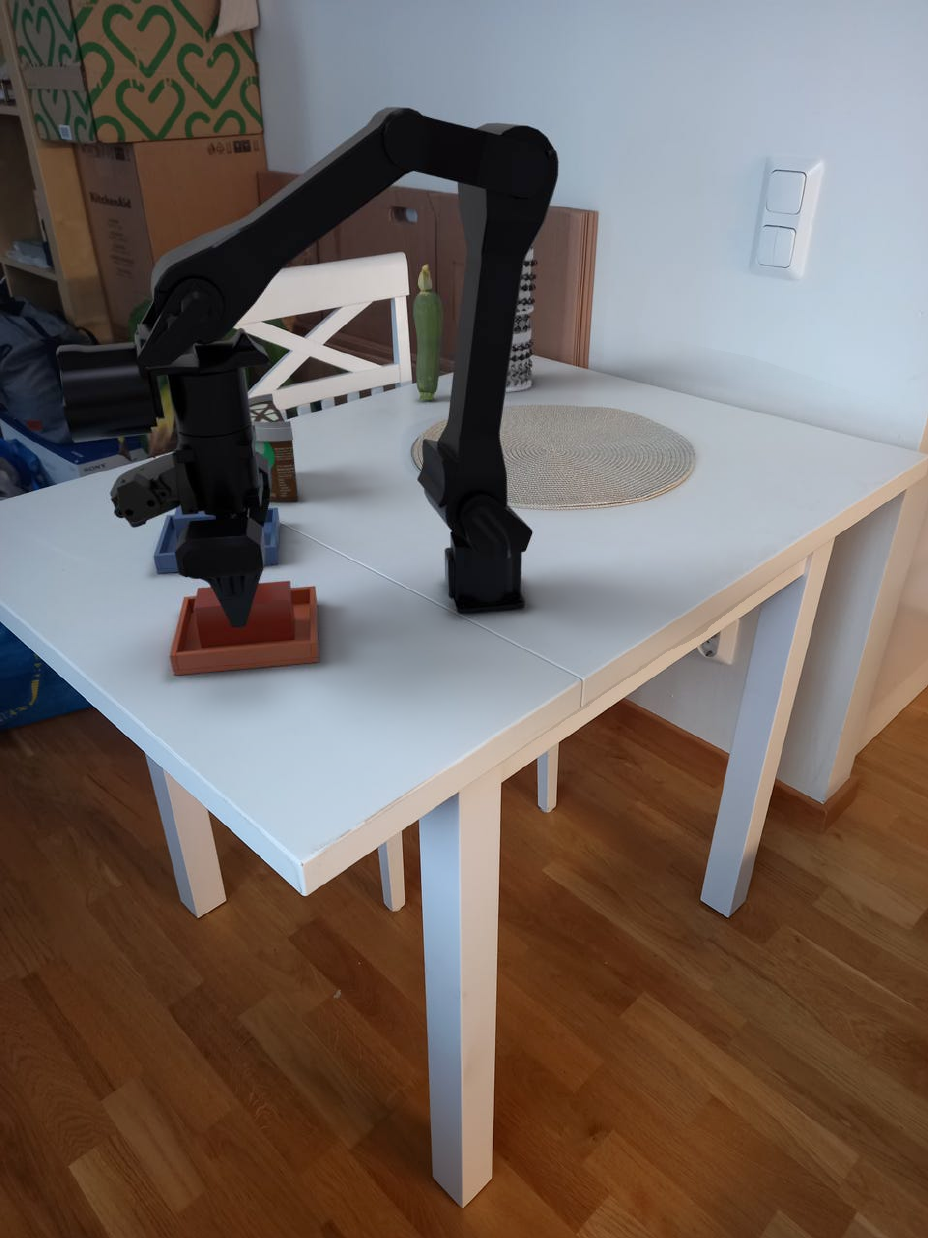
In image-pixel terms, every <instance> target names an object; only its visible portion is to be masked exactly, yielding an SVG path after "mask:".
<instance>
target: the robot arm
mask: <svg viewBox="0 0 928 1238" xmlns="http://www.w3.org/2000/svg"><path fill="white" fill-rule="evenodd" d="M412 172H416V173H419V174H424V175H428V176H430V177H431V176H432V177H436V178H440V179H444V180H447V181H452V182H455V183H457V199H458V200H457V201H458V210H459V214H460V220H461V226H462V231H463V235H464V240H465V246H466V247H465V248H466V258H465V266H464V274H463V285H462V293H461V300H460V301H461V303H460V311H459V320H458V329H457V337H456V346H455V348H456V349H455V355H454V364H453V374H452V381H451V391H450V400H449V409H448V416H447V417H448V418H447V421H446V425H445V426H444V429H443V431H442V433H441V434H440V436H439V437H438V439H437V440H433V439H427V438H425V439H423V440H422V444H421V445H422V446H421V448H422V449H421V450H422V451H421V452H422V466H421V470H420V473H419V474H418V477H417V479H416V481H417V482H418V483H419V484H420V485H421V487H422V488H423V491H424V495H425V498H426V499H427V501H428V503H429V505H431V507H432V508H433V510H434V511H435V512H436V514H438V516H439V517H440V518H441V520H442V521H443V522H444V524H445V525H446V527H448V529H449V530H450V532H449V536H450V537H449V541H450V542H449V543H450V547H446V548H445V549H444V580H445V581H444V582H445V589H446V592H447V596H448V597H449V599H450V600H453V604H454V607H455V611H456V613H459V614H468V613H480V612H490V611H502V610H503V611H504V610H514V609H522V608H525V606H526V600H525V598H524V595H523V593H522V564H523V563H522V562H523V561H522V560H523V557H522V555H523V553H525V552H526V551H527V549H528V546H529V544H530V541H531V538H532V536H533V529H532V528H530V526H529V525H528V524H527V523H526V522H525V521H524V520H523V519H522V517H520V515H518V514H517V513H516V512H515V510H514V509H513V508H511V506H510V505H509V502H508V501H509V498H508V497H509V496H508V472H507V467H506V463H505V457H504V452H503V447H502V442H501V426H502V418H503V413H504V405H505V398H506V393H507V392H506V385H507V378H508V370H509V363H510V356H511V349H512V342H513V335H514V328H515V321H516V314H517V307H518V300H519V293H520V286H521V279H522V271H523V265H524V261H525V258H526V255H527V253H528V252H529V250H530V248H531V246H532V247H533V244H534V242H535V240H536V239H537V237H538V235H539V234H540V231H541V229H542V228H543V226H544V224H545V222H546V218H547V215H548V212H549V209H550V206H551V202H552V200H553V199H552V198H553V196H554V193H555V189H556V185H557V183H558V178H559V156H558V152H557V150H556V149H555V147H554V146H553V145H552V143H551V141H550V140H549V138H548V136H546V135H545V133H543V132H542V131H540V130H539V129H538V128H535V127H532V126H530V125H524V124H515V123H504V122H503V123H502V122H489V123H488V122H487V123H485V124H482V125H480V126H478V127H476V128H475V127H471V126H470V127H469V126H466V125H462V124H459V123H454V122H449V121H446V120H442V119H438V118H434V117H430V116H427V115H423V114H421V112H419V110H416V109H413V108H411V107H401V106H389V107H384V108H383V109H380V110H379V111H377V112H376V113H375V114H374V115H373V116H372V117H371V119H370V120H369V122H368V123H366V124H365V126H363V127H362V128H361V129H359V130H358V131H357V132H355V134H352V136H350V137H349V138H348V139H346V140H345V141H343V142H342V143H341V144H339V146H337V147H336V148H334V149H333V150H331V151H330V152H329V153H328V154H327V155H325V156H324V157H323V158H321V159H320V160H319V161H318V162H315V164H313V165H312V166H311V167H310V168H308V169H306V170H305V171H304V172H303V173H302V174H300V175H299V176H298V177H296V178H295V179H294V180H292V181H291V182H290V183H288V184H287V185H286V186H284V187H283V188H281V189H280V190H279V191H278V192H276V193H275V194H274V195H273V196H271V197H270V198H269V199H267V200H266V201H265V202H263V203H262V204H261V205H259V206H258V207H257V208H255V209H254V210H253V211H251V212H250V213H249V214H247V215H246V216H243V217H242V218H239V219H238V220H236V221H234V222H232V223H228V224H227V225H223V226H222V227H219V228H216V229H214V230H211V231H208V232H205V233H204V234H201V235H199V236H198V237H196V238H194V239H192V240H189V241H188V242H185V243H183V244H181V245H179V246H177V247H176V248H175V247H174V248H173V249H171V250H169V251H167V252H166V253H164V254H163V255H162V256H161V257H160V258H159V259H158V261H157V262H156V263H155V264H154V267H153V268H152V271H151V276H150V293H151V297H152V301H151V303H150V305H149V307H148V309H147V311H146V313H145V315H144V316H143V319H142V320H141V322H140V323H139V324H137V330H136V331H135V333H134V341H128V342H119V343H118V342H117V343H107V344H96V345H95V344H94V345H85V344H84V345H83V344H64V345H63V344H61V345H59V346H58V347H57V349H56V355H55V356H56V361H57V364H58V368H59V376H60V384H61V389H62V395H63V398H62V399H63V400H62V410H63V413H64V417H65V421H66V425H67V428H68V430H69V434H70V437H71V439H72V442H73V443H83V442H92V441H101V440H109V439H117V438H125V437H136V436H143V435H151V434H152V435H153V428H158V427H159V425H158V421H157V420H163V419H165V418H166V417H165V410H164V406H163V399H162V395H161V389H160V385H159V379H158V377H159V376H166V379H167V384H168V391H169V395H170V401H171V406H172V411H173V416H174V417H173V418H174V423H175V427H176V434H177V445H176V448H173V451H172V452H171V453H169V454H163V455H161V456H159V457H157V458H154V459H152V460H150V461H147V462H145V463H143V464H141V465H138V466H135V467H132V468H131V469H129V470H127V471H124V472H123V473H121V474H119V476H117V477H116V480H115V482H114V484H113V486H112V487H111V490H110V492H109V496H110V497H111V498H110V501H111V502H112V503H113V506H114V510H113V511H114V512H113V515H115V517H116V518H118V519H124V520H125V521H126V522H128V525H130V527H131V528H134V529H136V528H139V527H141V526H144V525H146V524H147V521H150V520H152V519H154V518H157V517H159V516H161V515H164V514H166V513H169V512H171V511H173V510H176V508H177V507H179V506H180V505H181V511H182V515H190V514H198V513H199V511H204V514H205V515H207V516H209V515H211V516H215V517H216V519H212V520H199V521H190V522H189V523H188V524H187V525H186V527H185V528H184V529H183V530H182V531H181V532H180V535H179V539H178V542H177V546H176V549H175V557H176V562H177V567H178V572H177V573H178V575H179V576H181V577H184V578H189V579H192V580H202V581H204V582H206V583H207V584H208V585H209V587H211V588H212V590H213V591H214V593H215V595H216V597H217V599H218V601H219V603H220V604H221V606H222V608H223V610H224V612H225V614H226V616H227V618H228V620H229V622H230V624H231V625H232V627H234V628H238V627H245V626H246V624H247V621H248V617H249V614H250V610H251V607H252V603H253V600H254V597H255V594H256V590H257V587H258V584H259V583H260V580H261V577H262V575H263V574H262V573H263V571H264V569H265V565H264V563H265V542H264V534H263V527H264V523H265V519H266V515H267V511H268V508H270V504H271V502H270V495H271V481H272V478H271V471H270V463H269V460H268V459H267V458H265V457H264V456H263V455H261V454H260V453H259V452H256V448H255V446H256V439H257V436H256V428H255V425H252V420H251V413H250V406H249V399H248V398H249V393H248V386H247V377H246V370H245V368H252V367H253V368H254V367H262V366H263V367H264V366H268V365H269V364H270V361H271V359H270V357H269V355H268V353H267V351H266V349H265V347H264V346H262V345H261V344H260V343H257V342H256V341H255V340H253V339H252V338H251V337H250V336H249V335H248V333H247V332H246V330H245V328H243V327H239V328H237V330H236V331H235V333H234V335H232V336H231V338H229V339H228V340H222V339H223V338H224V337H226V335H228V334H229V333H230V332H231V331H232V329H234V327H235V326H236V325H237V324H238V323H239V322H240V321H241V320H242V319H243V318H244V316H245V315H246V314H247V313H248V312H249V311H250V310H251V309H252V308H253V306H254V305H255V304H256V303H257V302H258V300H259V299H260V298H261V296H262V294H263V293H264V292H265V290H266V289H267V287H268V286H269V285H270V283H271V282H272V281H273V279H274V278H275V277H276V276H277V275H278V274H279V272H281V270H282V269H283V268H284V267H285V266H287V265H288V264H289V263H290V262H292V261H293V260H294V259H296V258H297V257H298V256H300V255H301V254H303V253H304V252H306V250H308V249H309V248H310V247H312V246H313V245H314V244H315V243H317V242H318V241H320V240H321V239H322V238H324V237H325V236H326V235H327V234H329V233H331V232H332V231H333V230H334V229H336V228H337V227H339V226H340V225H341V224H342V223H343V222H345V221H347V220H348V219H349V218H350V217H351V216H353V215H354V214H356V212H358V211H359V210H360V209H362V208H363V207H364V206H366V205H367V204H368V203H370V202H371V201H373V200H374V199H375V198H376V197H377V196H379V195H380V194H382V193H383V192H385V191H386V190H387V189H388V188H390V187H391V186H392V185H394V184H395V183H397V181H399V180H401V178H403V177H405V176H406V175H408V174H410V173H412ZM219 340H220V341H219ZM191 348H193V349H192V350H193V352H191V353H187V354H185V353H186V352H187V351H188V350H189V349H191Z"/></svg>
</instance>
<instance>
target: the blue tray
mask: <svg viewBox="0 0 928 1238" xmlns="http://www.w3.org/2000/svg"><path fill="white" fill-rule="evenodd" d="M279 514H280V513H279V507H268V511H267V515H266V519H265V523H264V527H263V534H264V542H265V563H264V566H271V565H278V561H279V560H278V558H279V542H280V528H281V527H280V526H281V521H280V515H279ZM173 517H174V514H167V515H166V517H165V519H164V523H163V525H162V528H161V532H160V535H159V539H158V541H157V544H156V547H155V550H154V553H153V560H154V566H155V570H156V574H168V573H179V572H178V567H177V562H176V557H175V549H176V546H177V538H176V533H175V528H174V522H173Z"/></svg>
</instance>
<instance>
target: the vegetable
mask: <svg viewBox="0 0 928 1238" xmlns="http://www.w3.org/2000/svg"><path fill="white" fill-rule="evenodd" d="M429 267H430V266H429V264H425V265H423V266H422V267H421V271H420V273H419V276H418V280H417V281H418V282H417V285H418V288H419V290H420V292H419V293H418V294H417V295H416V296H415V298H414V301H413V304H412V305H413V306H412V307H413V308H412V315H413V321H414V327H415V333H416V347H417V349H416V350H417V353H416V363H415V364H416V365H415V374H416V375H415V376H416V387H417V390H418V392H419V398H420V401H421V402H424V401H427V402H429V401H432V400H434V396H435V393H436V392H437V390H438V385H439V377H440V368H441V367H440V366H441V349H442V348H441V347H442V345H441V344H442V337H443V331H444V330H443V329H444V309H443V304H442V300H441V298H440V295H438V293H436V292H435V290H432V289H433V281H432V280H433V279H432V278H431V272H430V270H429V269H430V268H429Z"/></svg>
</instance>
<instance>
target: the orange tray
mask: <svg viewBox="0 0 928 1238" xmlns="http://www.w3.org/2000/svg"><path fill="white" fill-rule="evenodd" d="M291 593H292V601H293V608H294V616H295V635H294V639H292V640H281V641H270V642H259V643H248V644H237V645H226V646H215V647H203V648H202V647H201V644H200V639H199V634H198V629H197V624H196V618H195V613H194V604H195V600H196V595H190V596H183V600H182V603H181V607H180V612H179V616H178V620H177V623H176V629H175V633H174V636H173V641H172V645H171V649H170V653H169V660H170V664H171V668H172V673H173V676H182V675H183V676H184V675H185V676H186V675H195V674H206V673H215V672H225V671H228V672H229V671H238V670H249V669H259V668H271V667H281V666H282V667H283V666H292V665H302V664H303V665H304V664H313V663H319V660H320V659H319V617H318V616H319V615H318V614H319V613H318V610H319V609H318V597H317V589H316V586H315V585H313V586H302V587H301V586H300V587H291Z"/></svg>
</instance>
